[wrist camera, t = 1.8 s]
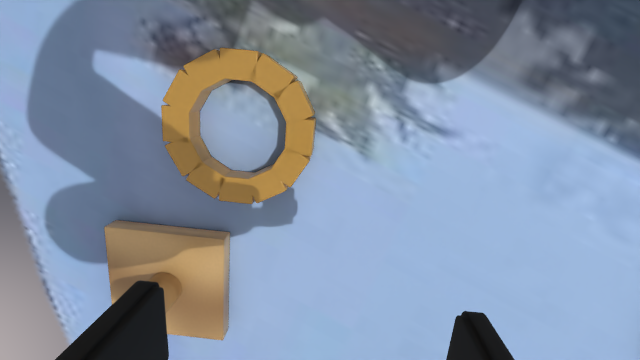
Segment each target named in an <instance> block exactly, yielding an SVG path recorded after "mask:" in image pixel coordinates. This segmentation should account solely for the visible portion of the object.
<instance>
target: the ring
mask: <svg viewBox="0 0 640 360" xmlns="http://www.w3.org/2000/svg"><path fill="white" fill-rule="evenodd" d="M184 68H185V70H181V69H180V70H179V71H178V73H177V75H176V77H175V78H174V80H173V82H172V84H171V86H170V88H169V89H168V91H167V93H166V95H165V97H164V99H163V101H164V102H165V103H167V104H168V105H162V106H161V108H162V131H163V141H167V142H171V143H169V144H167V145H165V147H166V149H167V151H168V153H169V154H170V156H171V158H172V159H173V161H174V163H175V165H176V166H177V168H178V170H179V171H180V173H181V175H182V176H185V175H187V174H189V173H190V174H189V175H188V177H187V179H186V180H187V181H188V182H190V183H191V184H193V185H194V186H196V187H197V188H199V189H200V190H202V191H203V192H205V193H206V194H208V195H210V196H211V197H213V198H214V199H215V198H216V197H217V196H218V195H219V201H228V202H237V203H247V204H252V203H253V202H254V201H256V203H259V202H261V201H264V200H266V199H268V198H271V197H273V196H275V195H278V194H280V193H282V192H284V191H286V190H287V188H288V186H289V187H291V186H292V185H293V183H294V182H295V180H296V179H297V178H298V176H299V175H300V174H301V172H302V171H303V169H304V168H305V167H306V165H307V164H308V162H309V161H310V158H311V155H312V153H313V149H314V138H315V126H316V118H312V117H311V116H313V115H314V114H315V111H314V109H313V107H312V105H311V102H310V100H309V98H308V96H307V94H306V91H305V89H304V87H303V85H302V83H301V81H296V79H297V76H295V75H294V74H293V73H291V72H290V71H289V70H287V69H286V68H285V67H283V66H282V65H280V64H279V63H278V62H276V61H275V60H274V59H272V58H271V57H270V56H268V55H266V54H264V53H260V52H258V51H251V50H241V49H230V48H220V51H219V50H216V49H214V50H212V51H210V52H208V53H206V54H204V55H202V56H200V57H198V58H197V59H195V60H193V61H191V62H189V63H187V64H185V65H184ZM232 80H241V81H251V82H253V83H254V84H256V85H257V86H259V87H260V88H261V89H263V90H264V91H266V92H267V93H268V94H270V95H271V96H273V97H274V98H275V100H276V102H277V104H278V106H279V108H280V111H281V113H282V115H283V117H284V119H285V121H286V135H285V149H284V150H283V152H282V153H281V154H280V156H279V157H278V159H277V160H276V162H275V163H274V164H273V165H270V166H268V167H266V168H264V169H261V170H259V171H257V172H255V173H254V172H245V171H235V170H231V169H229V168H228V167H226V166H225V165H223V164H222V163H220V162H219V161H217V160H216V159H214V158H213V157H212V156H211V155H210V153H209V151H208V149H207V147H206V145H205V144H204V142H203V140H202V138H201V136H200V110H201V108H202V107H203V105H204V103H205V101H206V100H207V98H208V96H209V95H210V93H211V91H212V90H214V89H216V88H218V87H220V86H222V85H224V84H226V83H228V82H230V81H232Z"/></svg>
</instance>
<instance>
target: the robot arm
mask: <svg viewBox="0 0 640 360" xmlns="http://www.w3.org/2000/svg"><path fill="white" fill-rule="evenodd" d="M168 356H169V352H168V339H167V326H166V313H165V299H164V289H163V288H162V287H159V284H158V283H157V282H151V281H141V280H140V281H137V282H135V283H134V284H133V285H132V286H131V287H130V288H129V289H128V290H127V291H126V292H125V293H124V294H123V295H122V296H121V297H120V298H119V299H118V300H117V301H116V302H115V303H113V304H112V305H111V306H110V307H109V308H108V309H107V310H106V311H105V312H104V313H103V314H102V315H101V316H100V317H99V318H98V319H97V320H96V321H95V322H94V323H93V324H92V325H91V326H90V327H89V328H88V329H86V330H85V331H84V332H83V333H82V334H81V335H80V336H79V337H78V338H77V339H76V340H75V341H74V342H73V343H72V344H71V345H70V346H69V347H68V348H67V349H66V350H65V351H64V352H63V353H62V354H61V355H60V356H58V357H57V358H56V359H55V360H168ZM446 360H514V358H513V357H512V355H511V354H510V352H509V351H508V349H507V348H506V346H505V345H504V343H503V341H502V340H501V338H500V337H499V335H498V334H497V332H496V331H495V329H494V328H493V326H492V324H491V323H490V321H489V320H488V318H487V317H486V315H485V314H483V313H478V312H467V311H464V312H463V313H462V315H461V316H457V317H456V319H455V323H454V328H453V332H452V337H451V341H450V346H449V350H448V355H447V359H446Z"/></svg>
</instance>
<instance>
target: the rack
mask: <svg viewBox="0 0 640 360" xmlns="http://www.w3.org/2000/svg"><path fill="white" fill-rule="evenodd" d="M104 230H105V239H106V249H107V259H108V269H109V279H110V289H111V299H112V304H113V303H115V302H116V301H117V300H118V299H119V298H120V297H121V296H122V295H123V294H124V293H125V292H126V291H127V290H128V289H129V288H130V287H131V286H132V285H133V284H134V283H135V282H137V281H140V280H141V281H151V282H157V283H158V284H159V287H162V288H163V289H164V299H165V313H166V326H167V334H173V335H181V336H190V337H199V338H207V339H216V340H223V339H224V337H225V335H226V333H227V330H228V315H229V254H230V232H223V231H214V230H204V229H195V228H186V227H176V226H167V225H158V224H148V223H139V222H130V221H121V220H115V221H113V222H112V223H110V224H108V225H107V226H105V227H104Z"/></svg>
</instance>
